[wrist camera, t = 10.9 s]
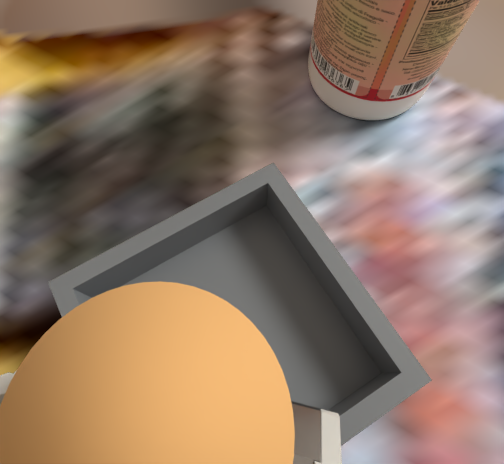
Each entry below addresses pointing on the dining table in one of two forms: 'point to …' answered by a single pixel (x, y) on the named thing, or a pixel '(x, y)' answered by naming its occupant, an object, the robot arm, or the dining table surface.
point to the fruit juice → (381, 52)
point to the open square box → (271, 294)
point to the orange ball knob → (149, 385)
